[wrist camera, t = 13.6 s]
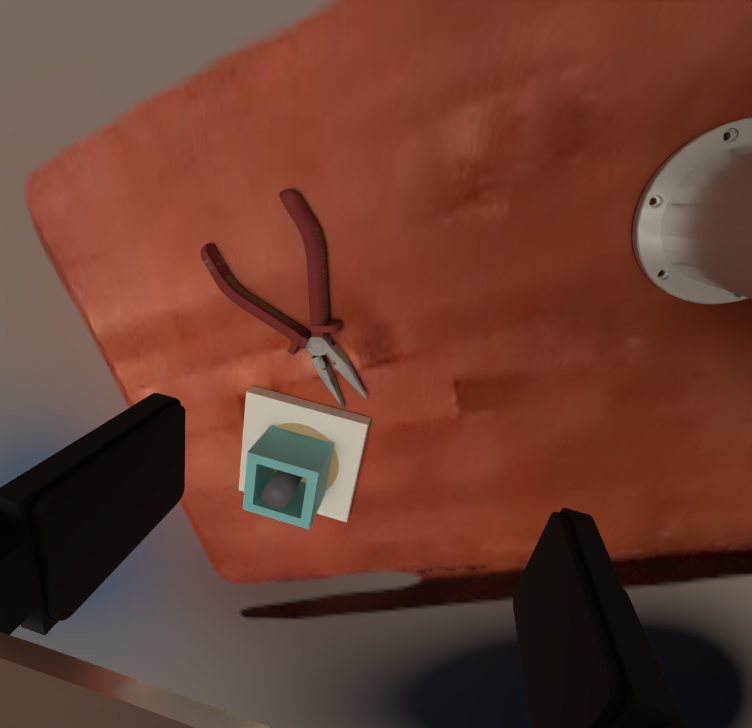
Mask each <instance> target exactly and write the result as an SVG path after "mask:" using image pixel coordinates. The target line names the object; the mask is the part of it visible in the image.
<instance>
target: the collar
mask: <svg viewBox="0 0 752 728" xmlns="http://www.w3.org/2000/svg"><path fill="white" fill-rule="evenodd" d="M333 447H334V443H331V442H327V441H324V440H320V439H317V438H313V437H310V436H306V435H302V434H299V433H295V432H292V431H288V430H285V429H281V428H278V427H274V426H269V427H268V429H267V430H266V431H265V432H264V433H263V435H262V436H261V437H260V438H259V439H258V440H257V442H256V443H255V444H254V445H253V446H252V447H251V449H250V450H249V451H248V452H247V463H246V476H245V488H244V500H243V509H244V510H247V511H250V512H253V513H257V514H260V515H263V516H267V517H270V518H273V519H276V520H280V521H283V522H286V523H290V524H293V525H296V526H299V527H303V528H306V529H310V526H311V524H312V522H313V520H314V518H315V516H316V513H317V511H318V509H319V507H320V505H321V502H322V500H323V498H324V496H325V490H326V485H327V480H328V474H329V469H330V463H331V458H332V452H333ZM274 469H276V470H280V471H283V472H287V473H290V474H294V475H297V476H300V477H304V478H307V482H306V483H304V482H300V483H299V484H298V486H297V488H296V490H295V491H294V493H293V495H292V497H291V498H290V500H289V502H288V504H287V505H286V506H285V507H284V508H282V509H273V508H271V507H269V506H268V505H266V504H265V502H264V501H263V499H262V491H263V490H264V488H265V487H266V485H267V484H268V482H269V481H270V479H271V478H272V477H273V475H274Z"/></svg>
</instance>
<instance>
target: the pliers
mask: <svg viewBox="0 0 752 728" xmlns="http://www.w3.org/2000/svg"><path fill="white" fill-rule="evenodd" d="M279 195H280V198H281V201H282V203H283V204H284V206H285V208H286V209H287V211H288V213H289V214H290V216H291V217H292V219H293V221H294V222H295V224H296V226H297V227H298V229H299V231H300V233H301V236H302V238H303V241H304V245H305V250H306V256H307V270H308V286H309V302H310V318H311V325H310V326H311V331H310V330H308V329H307V328H305V327H304V326H302V325H300V324H299V323H297V322H296V321H294V320H293V319H291V318H289V317H288V316H286V315H285V314H283V313H282V312H280V311H279V310H277V309H275V308H274V307H272V306H271V305H269V304H268V303H266V302H264V301H263V300H261V299H260V298H258V297H257V296H255V295H253V294H252V293H251V292H249V291H248V290H247V289H246V288H244V287H243V286H242V285H241V284H240V283H239V282H238V281H237V279H236V278H235V277H234V275H233V274H232V272H231V271H230V269H229V267H228V266H227V264H226V262H225V261H224V259H223V257H222V256H221V254H220V252H219V251H218V249H217V248H216V246H215V244H212V243H209V244H206V245H205V246H203V248H202V250H201V257H202V260H203V262H204V263H205V265H206V267H207V268H208V270H209V272H210V273H211V275H212V277H213V278H214V280H215V282H216V284H217V285H218V287H219V288H220V289H221V291H222V292H223V293H224V294H225V295H226V296H227V297H228V298H229V299H231V300H232V301H233V302H234V303H235V304H237V305H238V306H240V307H241V308H243V309H244V310H246V311H247V312H249V313H250V314H252V315H254V316H255V317H257V318H258V319H260V320H261V321H263V322H265V323H266V324H268V325H269V326H271V327H272V328H274V329H276V330H277V331H279V332H280V333H282V334H283V335H285V336H287V337H288V338H290V339H291V340H293V341H292V343H291V345H290V347H289V349H288V352H290V353H291V354H293V355H294V354H295V353H296V352H297V351H299V350H300V348H305V347H306V348H307V350H308V351H309V352H310V353H311V354H312V355H314V356H313V357H312V358H311V359H312V362H313V364H314V366H315V368H316V370H317V372H318V374H319V376H320V377H321V379H322V380H323V381H324V383H325V384H326V386H327V387H328V388H329V390H330V391H331V393H332V394H333V395H334V397H335V398H336V399H337V401H338V402H339V404H340V405H341V406H342V408H343V409H344V408H345V406H344V402H343V399H342V396H341V393H340V390H339V387H338V384H337V381H336V378H335V375H334V372H333V369H332V367H331V364H330V363H325V362H324V361H323V358H322V355H325V354H326V355H327V356H328V357H329V358H330V360H331V361H332V362H333V363H334V366H335V368H336V369H337V370H338V371H339V372H340V373H341V374H342V375H343V376H344V377H345V379H346V380H347V381H348V382H349V383H350V384H351V385H352V386H353V387H354V388H355V389H356V390H357V391H358V392H359V393H360V394H361V395H362V396H363V397H364V398H365V399H366V400H367V399H368V397H367V395H366V393H365V391H364V389H363V387H362V385H361V383H360V381H359V379H358V377H357V375H356V373H355V371H354V370H353V368H352V366H351V364H350V362H349V360H348V358H347V357H346V355H345V354H344V353H343V351H342V350H341V349H340V348H339V346H338V345H337V344H335V345H334V346H333V345H332V344H331V338H330V335H329V333H334V332H338V331H339V330H340V329H341V328H342V321H339V320H329V302H328V280H327V258H326V249H325V243H324V238H323V234H322V232H321V229H320V226H319V224H318V223H317V221H316V220H315V218H314V216H313V215H312V213H311V211H310V210H309V208H308V207H307V205H306V203H305V202H304V200H303V198H302V197H301V195H300V194H299V193H298V192H296V191H295V190H292V189H286V190H283V191H281V192H280V194H279Z"/></svg>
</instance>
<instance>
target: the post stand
mask: <svg viewBox="0 0 752 728" xmlns="http://www.w3.org/2000/svg"><path fill="white" fill-rule="evenodd" d="M370 419H371V418H370V417H366V416H362V415H359V414H355V413H351V412H348V411H344V410H340V409H337V408H333V407H329V406H326V405H322V404H318V403H315V402H311V401H307V400H304V399H300V398H296V397H293V396H289V395H285V394H282V393H278V392H274V391H271V390H267V389H263V388H260V387H256V386H252V387H251V388H250V389H249V390H248V391H247V392H246V403H245V416H244V429H243V441H242V454H241V467H240V480H239V490H241V491H244V488H245V476H246V463H247V452H248V451H249V450H250V449H251V447H252V446H253V445H254V444H255V443H256V442H257V440H258V439H259V438H260V437H261V436H262V435H263V433H264V432H265V431H266V430H267V429H268V427H269V426H274V427H278V428H281V429H285V430H288V431H292V432H295V433H299V434H302V435H306V436H310V437H313V438H317V439H320V440H324V441H327V442H331V443H334V447H333V452H332V458H331V463H330V469H329V474H328V480H327V485H326V490H325V496H324V498H323V500H322V502H321V505H320V507H319V509H318V511H317V514H320V515H324V516H327V517H330V518H334V519H337V520H340V521H344V522H347V519H348V516H349V514H350V509H351V505H352V500H353V496H354V491H355V487H356V482H357V478H358V473H359V469H360V464H361V460H362V455H363V451H364V446H365V442H366V437H367V433H368V428H369V424H370ZM300 482H304V483H306V482H307V478H304V477H300V476H297V475H294V474H290V473H287V472H283V471H280V470H276V469H274V475H273V477H272V478H271V479H270V481H269V482H268V484H267V485H266V487H265V488H264V490H263V491H262V499H263V501H264V502H265V504H266V505H268V506H269V507H271V508H273V509H282V508H284V507H285V506H286V505H287V504H288V502H289V500H290V498H291V497H292V495H293V493H294V491H295V490H296V488H297V486H298V484H299V483H300Z"/></svg>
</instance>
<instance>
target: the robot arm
mask: <svg viewBox="0 0 752 728" xmlns="http://www.w3.org/2000/svg"><path fill="white" fill-rule="evenodd" d="M724 133H725V134H726V135H727V137H726V139H725V141H724V139H723V136H724ZM651 198H653V199H654V203H653V204H652V205H650V204H649V201H650V199H651ZM632 240H633V247H634V253H635V256H636V258H637V261H638V264H639V266H640V268H641V269H642V271H643V272H644V274H645V275H646V277H647V278H648V279H649V280H650V281H651V282H652V283H654V284H655V285H656V286H657V287H658V288H660V289H661V290H663V291H665V292H666V293H668V294H670V295H672V296H675V297H677V298H680V299H682V300H686V301H690V302H695V303H699V304H723V303H732V302H737V301H741V300H744V299H748V298H751V299H752V118H745V119H741V120H738V121H734V122H730V123H727V124H724V125H722V126H719V127H716V128H714V129H711V130H709V131H706V132H705V133H703V134H701V135H699V136H698V137H696V138H694V139H692V140H691V141H689V142H688V143H686V144H685V145H684V146H682V147H681V148H680V149H679V150H677V151H676V152H675V153H674V154H672V155H671V156H670V157H669V158H668V159H667V160H666V162H665V163H664V164H663V165H662V166H661V167H660V168H659V169H658V170H657V171H656V173H655V174H654V176H653V177H652V179H651V180H650V182H649V183H648V184H647V186H646V188H645V190H644V192H643V194H642V196H641V198H640V200H639V202H638V205H637V209H636V213H635V216H634V220H633V231H632ZM661 270H662V274H661V275H660V276H658V273H659V272H660V271H661ZM184 487H185V409H184V407H183V406H181V404H180V401H179V400H178V399H177V398H173V397H169V396H166V395H162V394H159V393H154V394H151V395H150V396H148V397H146V398H145V399H143V400H141V401H140V402H138V403H137V404H135V405H133V406H132V407H130V408H128V409H127V410H125V411H124V412H122V413H120V414H119V415H117V416H116V417H114V418H112V419H111V420H109V421H107V422H106V423H104V424H103V425H101V426H99V427H98V428H96V429H95V430H93V431H92V432H90V433H88V434H86V435H85V436H83V437H82V438H80V439H78V440H77V441H75V442H73V443H72V444H70V445H69V446H67V447H65V448H64V449H62V450H60V451H59V452H58V453H56V454H54V455H52V456H51V457H49V458H47V459H46V460H44V461H43V462H41V463H39V464H38V465H36V466H34V467H33V468H31V469H30V470H28V471H26V472H25V473H23V474H22V475H20V476H18V477H17V478H15V479H14V480H12V481H10V482H9V483H7V484H5V485H4V486H2V487H1V488H0V728H271V727H268V726H265V725H262V724H260V723H257V722H254V721H251V720H248V719H246V718H243V717H240V716H237V715H234V714H231V713H229V712H226V711H223V710H220V709H218V708H215V707H212V706H209V705H207V704H204V703H201V702H198V701H196V700H193V699H190V698H187V697H184V696H182V695H179V694H176V693H173V692H170V691H167V690H165V689H162V688H159V687H157V686H154V685H151V684H148V683H145V682H142V681H140V680H137V679H134V678H131V677H128V676H125V675H123V674H120V673H117V672H114V671H111V670H108V669H106V668H103V667H100V666H97V665H94V664H92V663H89V662H86V661H83V660H80V659H77V658H75V657H72V656H69V655H66V654H63V653H60V652H57V651H55V650H52V649H49V648H46V647H44V646H40V645H38V644H35V643H32V642H28V641H25V640H22V639H19V638H16V637H13V636H10V634H11V633H12V632H13V631H14V630H15V629H16V628H17V627H18V626H19V625H20V624H21V627H23V628H26V629H29V630H31V631H34V632H37V633H40V634H43V635H46V634H47V633H48V631H49V630H50V629H51V628H52V627H53V626H54V625H55V624H56V623H57V622H58V621H59V620H61V621H62V620H66V619H67V618H69V617H70V616H71V615H72V614H73V613H74V612H75V611H76V610H77V609H78V608H79V607H80V606H81V605H82V604H83V603H84V602H85V601H86V600H87V599H88V597H89V596H90V595H91V594H92V593H93V592H94V591H95V590H96V589H97V588H98V587H99V586H100V585H101V584H102V583H103V582H104V580H105V579H106V578H107V577H108V576H109V575H110V574H111V573H112V572H113V571H114V570H115V569H116V568H117V567H118V566H119V565H120V563H121V562H122V561H123V560H124V559H125V558H126V557H127V556H128V555H129V554H130V553H131V552H132V551H133V550H134V549H135V548H136V547H137V545H138V544H139V543H140V542H141V541H142V540H143V539H144V538H145V537H146V536H147V535H148V534H149V532H151V531H152V529H154V527H155V526H156V525H157V524H158V523H159V522H160V521H161V520H162V519H163V518H164V517H165V516H166V515H167V514H168V513H169V511H170V510H171V509H172V508H173V507H174V506H175V505H176V504H177V503H178V502H179V501H180V499H181V497H182V495H183V492H184ZM513 608H514V616H515V623H516V630H517V638H518V645H519V653H520V660H521V667H522V675H523V682H524V690H525V697H526V704H527V712H528V719H529V726H530V728H686V727H685V725H684V723H683V721H682V718H681V716H680V713H679V711H678V709H677V707H676V704H675V702H674V700H673V698H672V695H671V693H670V690H669V688H668V686H667V683H666V681H665V679H664V677H663V674H662V672H661V670H660V667H659V665H658V663H657V660H656V658H655V656H654V653H653V651H652V649H651V646H650V644H649V642H648V640H647V637H646V635H645V633H644V630H643V628H642V626H641V623H640V621H639V619H638V617H637V614H636V612H635V610H634V607H633V605H632V603H631V600H630V598H629V596H628V594H627V593H626V591H625V590H624V589H623V587H622V585H621V583H620V580H619V578H618V576H617V573H616V571H615V569H614V566H613V564H612V562H611V559H610V557H609V555H608V552H607V550H606V548H605V545H604V543H603V541H602V538H601V536H600V533H599V531H598V529H597V526H596V524H595V522H594V520H593V518H592V516H590V515H588V514H585V513H581V512H578V511H574V510H571V509H567V508H563V509H562V510H561V511H560V512H559V513H558V512H553V513H552V514H551V516H550V518H549V520H548V522H547V524H546V526H545V528H544V530H543V533H542V535H541V537H540V539H539V541H538V543H537V545H536V547H535V549H534V551H533V553H532V555H531V558H530V560H529V562H528V564H527V566H526V568H525V570H524V572H523V574H522V576H521V578H520V580H519V583H518V585H517V587H516V589H515V592H514V597H513Z"/></svg>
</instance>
